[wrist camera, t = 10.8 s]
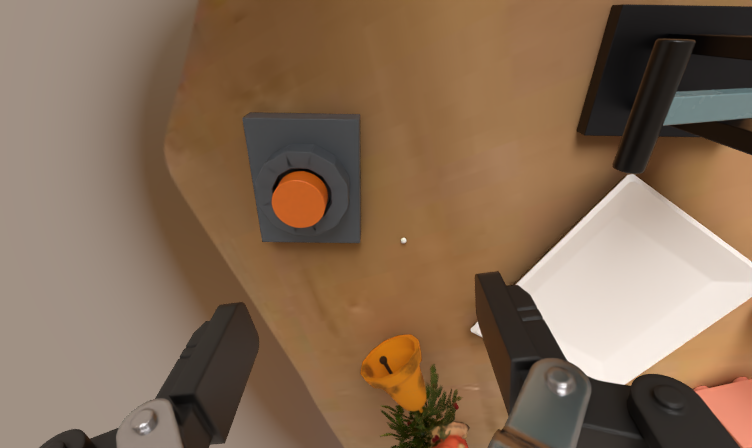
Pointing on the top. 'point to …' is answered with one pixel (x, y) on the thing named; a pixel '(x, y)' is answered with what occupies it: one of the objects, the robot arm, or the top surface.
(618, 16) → the switch bracket
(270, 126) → the control block
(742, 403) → the pink blocky piece
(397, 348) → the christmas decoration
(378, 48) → the top surface
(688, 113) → the switch lever
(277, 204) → the button
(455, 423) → the figurine
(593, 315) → the plate
